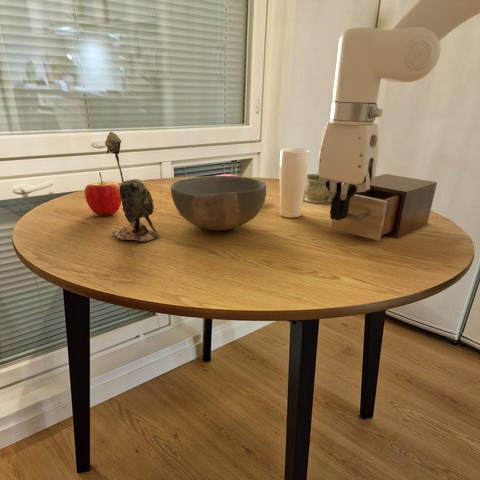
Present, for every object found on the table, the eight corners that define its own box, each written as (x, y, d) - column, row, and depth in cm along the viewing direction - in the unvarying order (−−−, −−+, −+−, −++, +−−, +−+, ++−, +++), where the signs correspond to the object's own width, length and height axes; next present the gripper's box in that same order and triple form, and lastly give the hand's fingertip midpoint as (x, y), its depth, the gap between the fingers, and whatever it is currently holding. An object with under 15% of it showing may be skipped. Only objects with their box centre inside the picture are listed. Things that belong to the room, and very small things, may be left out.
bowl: (262, 216, 103) (263, 173, 98) (266, 244, 85) (269, 193, 80) (179, 214, 103) (177, 171, 98) (166, 242, 85) (163, 191, 80)
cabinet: (397, 237, 90) (406, 191, 85) (346, 224, 98) (352, 181, 93) (427, 224, 99) (437, 182, 94) (378, 213, 107) (385, 173, 102)
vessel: (344, 201, 117) (347, 177, 114) (326, 206, 112) (329, 182, 109) (309, 193, 124) (311, 171, 121) (290, 198, 119) (292, 175, 116)
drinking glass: (308, 214, 105) (314, 149, 98) (297, 220, 100) (303, 153, 92) (283, 210, 108) (288, 147, 101) (271, 216, 103) (275, 150, 95)
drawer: (365, 246, 82) (371, 206, 79) (317, 232, 89) (321, 195, 86) (408, 227, 94) (416, 191, 90) (363, 216, 101) (368, 182, 97)
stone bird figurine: (132, 249, 81) (120, 136, 71) (107, 234, 89) (93, 130, 79) (169, 241, 86) (162, 134, 76) (142, 227, 93) (133, 128, 83)
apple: (86, 220, 97) (78, 174, 93) (90, 210, 105) (83, 168, 100) (123, 218, 99) (117, 174, 94) (124, 209, 106) (119, 167, 101)
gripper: (403, 116, 71) (382, 223, 81) (329, 111, 81) (318, 207, 90) (380, 118, 67) (361, 231, 76) (305, 112, 76) (296, 213, 85)
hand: (338, 218), depth 83 cm, fingers closed
